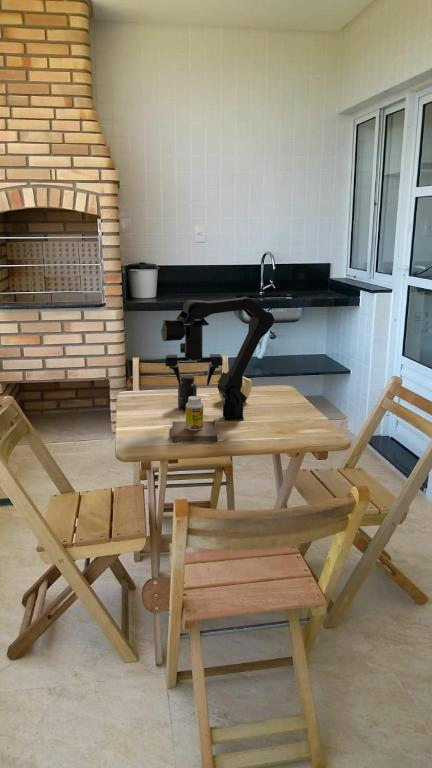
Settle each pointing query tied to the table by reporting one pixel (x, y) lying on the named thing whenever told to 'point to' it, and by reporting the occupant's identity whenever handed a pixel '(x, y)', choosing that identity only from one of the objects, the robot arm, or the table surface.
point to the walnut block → (194, 432)
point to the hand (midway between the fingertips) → (193, 385)
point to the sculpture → (243, 388)
